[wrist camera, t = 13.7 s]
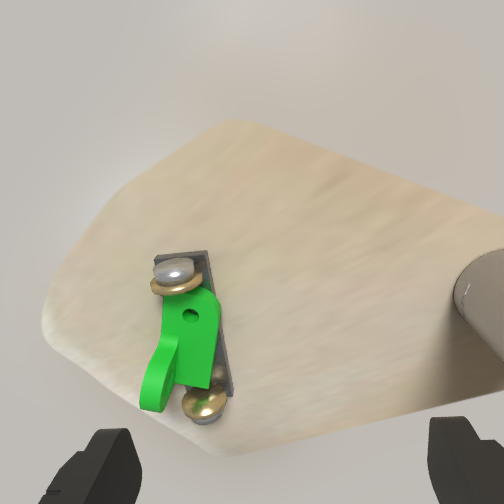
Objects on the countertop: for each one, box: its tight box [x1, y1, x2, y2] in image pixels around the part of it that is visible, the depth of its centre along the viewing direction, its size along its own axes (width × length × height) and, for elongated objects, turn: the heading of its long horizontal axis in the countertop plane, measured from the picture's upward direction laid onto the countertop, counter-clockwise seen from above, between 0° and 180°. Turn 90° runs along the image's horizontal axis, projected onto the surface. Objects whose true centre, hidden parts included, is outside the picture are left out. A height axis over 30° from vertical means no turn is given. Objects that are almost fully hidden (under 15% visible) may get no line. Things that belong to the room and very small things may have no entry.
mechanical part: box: [139, 286, 221, 413], centre depth 37 cm, size 12×6×8 cm, turn 171°
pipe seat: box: [150, 250, 234, 425], centre depth 39 cm, size 6×19×6 cm, turn 7°
